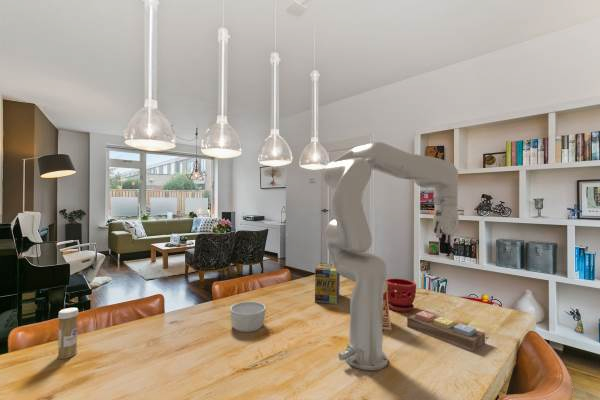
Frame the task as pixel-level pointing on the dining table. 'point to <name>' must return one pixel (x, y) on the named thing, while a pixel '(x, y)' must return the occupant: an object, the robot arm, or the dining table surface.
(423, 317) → the three-pip tile
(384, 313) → the milk carton
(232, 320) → the ramekin
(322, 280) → the protein box
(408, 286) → the plant pot
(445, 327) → the tile
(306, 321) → the dining table surface
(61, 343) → the sprinkles bottle
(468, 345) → the wooden tile rack
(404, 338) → the dining table surface
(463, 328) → the tile
